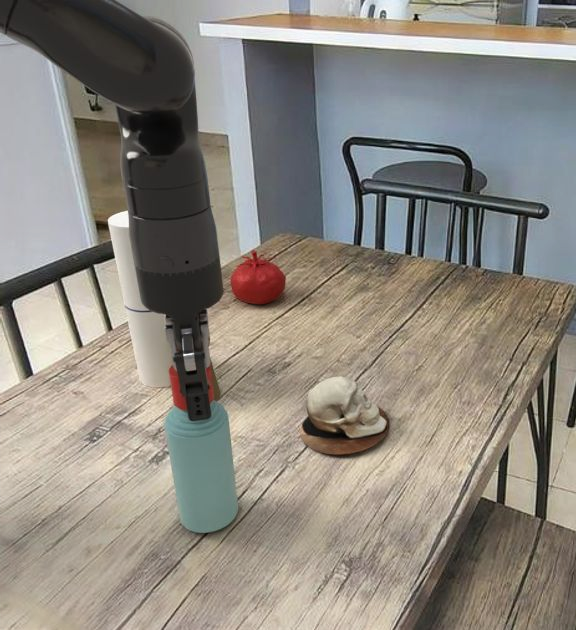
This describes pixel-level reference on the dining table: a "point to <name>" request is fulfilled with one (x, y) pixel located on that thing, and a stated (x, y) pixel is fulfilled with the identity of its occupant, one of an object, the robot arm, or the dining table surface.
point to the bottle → (202, 469)
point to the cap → (175, 386)
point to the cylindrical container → (140, 312)
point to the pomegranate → (257, 280)
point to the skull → (342, 418)
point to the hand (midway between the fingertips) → (199, 405)
